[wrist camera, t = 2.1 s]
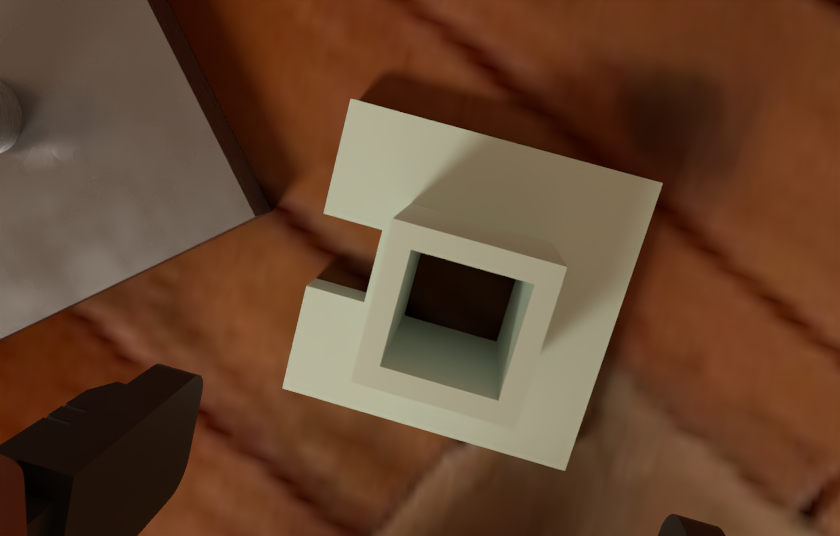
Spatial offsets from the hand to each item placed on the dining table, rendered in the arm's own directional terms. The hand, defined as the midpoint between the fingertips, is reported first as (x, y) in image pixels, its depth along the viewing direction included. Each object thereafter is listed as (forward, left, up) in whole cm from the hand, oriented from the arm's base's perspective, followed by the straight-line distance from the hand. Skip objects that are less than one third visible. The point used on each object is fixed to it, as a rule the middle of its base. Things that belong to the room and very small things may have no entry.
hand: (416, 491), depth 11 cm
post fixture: (+14, +14, -17) cm, 26 cm away
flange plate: (0, 0, -17) cm, 17 cm away
